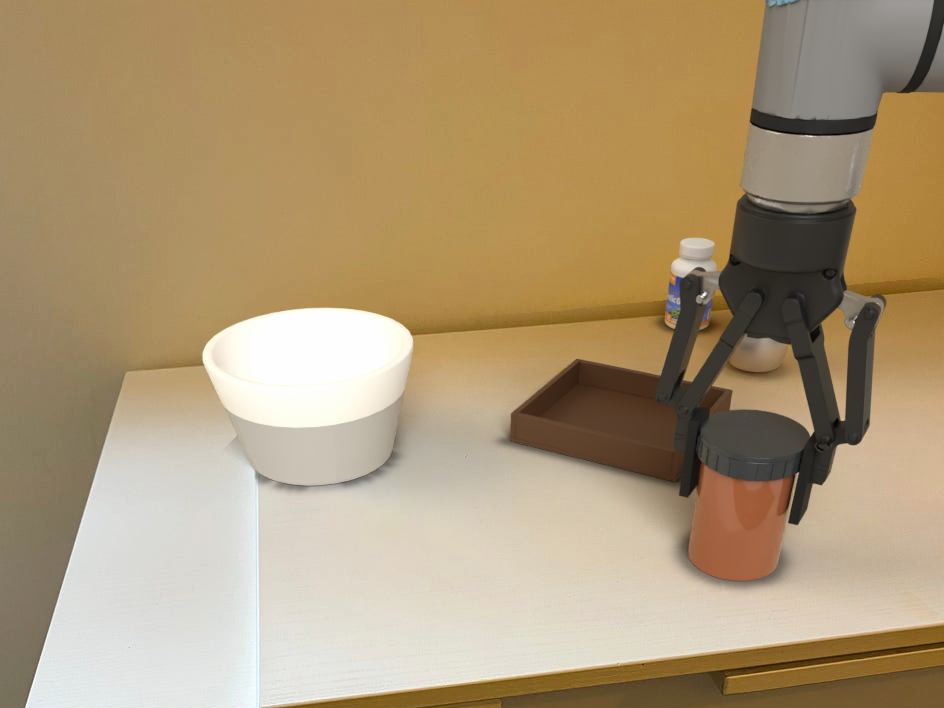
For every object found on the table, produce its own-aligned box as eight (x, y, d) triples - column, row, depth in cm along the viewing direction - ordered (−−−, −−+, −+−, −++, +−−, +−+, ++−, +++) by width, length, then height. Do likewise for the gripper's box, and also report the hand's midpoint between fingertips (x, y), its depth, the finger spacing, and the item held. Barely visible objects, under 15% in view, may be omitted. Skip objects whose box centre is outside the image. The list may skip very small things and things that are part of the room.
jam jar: (788, 546, 82) (814, 429, 76) (762, 590, 77) (788, 470, 71) (704, 524, 85) (722, 410, 79) (675, 566, 80) (691, 447, 74)
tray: (728, 417, 101) (732, 389, 99) (675, 482, 91) (679, 452, 89) (575, 384, 108) (576, 358, 106) (510, 441, 98) (510, 413, 96)
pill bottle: (655, 322, 122) (663, 241, 116) (686, 313, 124) (696, 232, 118) (686, 336, 119) (697, 252, 112) (718, 325, 121) (730, 243, 115)
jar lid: (818, 445, 77) (823, 422, 76) (789, 491, 71) (794, 468, 70) (716, 422, 80) (719, 400, 79) (680, 466, 75) (683, 443, 73)
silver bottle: (774, 383, 107) (811, 186, 95) (714, 372, 110) (742, 179, 98) (790, 362, 112) (828, 171, 99) (732, 352, 115) (761, 164, 102)
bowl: (185, 486, 92) (161, 376, 85) (271, 399, 106) (256, 299, 100) (381, 512, 88) (372, 398, 81) (443, 418, 102) (439, 315, 96)
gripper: (979, 201, 62) (889, 513, 77) (665, 166, 71) (636, 453, 85) (960, 233, 57) (867, 560, 72) (624, 191, 66) (601, 491, 80)
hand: (742, 502), depth 78 cm, fingers closed on jar lid, 8 cm apart
